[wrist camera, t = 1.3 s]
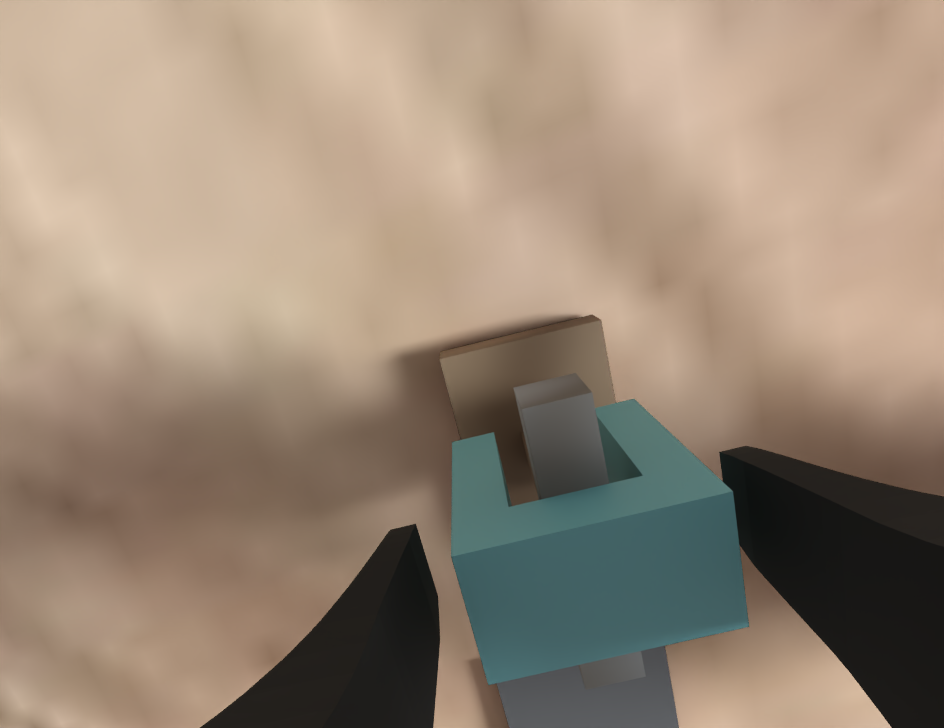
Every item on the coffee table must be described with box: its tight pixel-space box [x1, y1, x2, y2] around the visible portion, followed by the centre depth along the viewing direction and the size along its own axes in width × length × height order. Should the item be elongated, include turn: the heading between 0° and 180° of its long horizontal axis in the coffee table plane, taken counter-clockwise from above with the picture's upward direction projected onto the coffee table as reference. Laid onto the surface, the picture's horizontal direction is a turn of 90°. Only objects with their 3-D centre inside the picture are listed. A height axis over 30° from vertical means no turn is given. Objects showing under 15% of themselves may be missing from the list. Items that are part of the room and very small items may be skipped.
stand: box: [439, 315, 646, 690], centre depth 14 cm, size 5×7×7 cm
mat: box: [497, 646, 679, 728], centre depth 20 cm, size 6×6×1 cm
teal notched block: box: [451, 399, 749, 685], centre depth 12 cm, size 5×3×5 cm, turn 104°
